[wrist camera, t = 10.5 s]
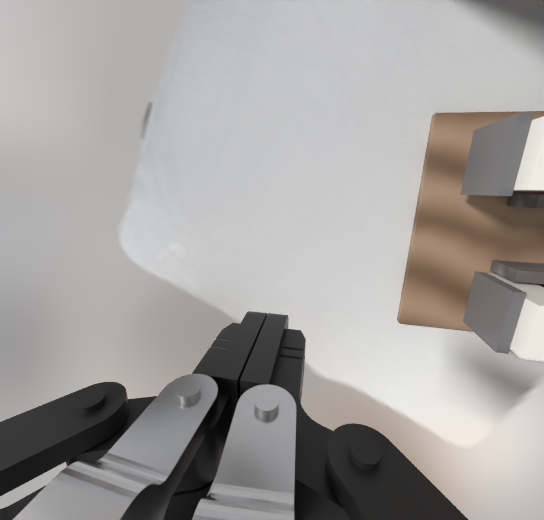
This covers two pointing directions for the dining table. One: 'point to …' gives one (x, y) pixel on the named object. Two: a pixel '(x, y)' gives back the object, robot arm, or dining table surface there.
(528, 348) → the button
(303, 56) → the dining table surface
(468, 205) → the button board
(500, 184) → the button
